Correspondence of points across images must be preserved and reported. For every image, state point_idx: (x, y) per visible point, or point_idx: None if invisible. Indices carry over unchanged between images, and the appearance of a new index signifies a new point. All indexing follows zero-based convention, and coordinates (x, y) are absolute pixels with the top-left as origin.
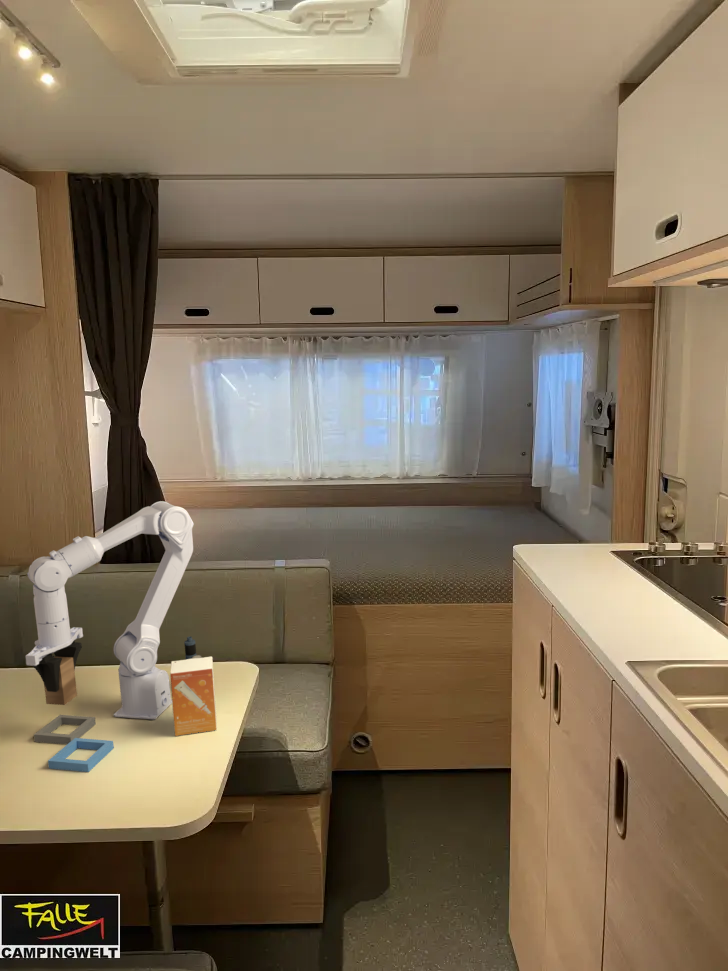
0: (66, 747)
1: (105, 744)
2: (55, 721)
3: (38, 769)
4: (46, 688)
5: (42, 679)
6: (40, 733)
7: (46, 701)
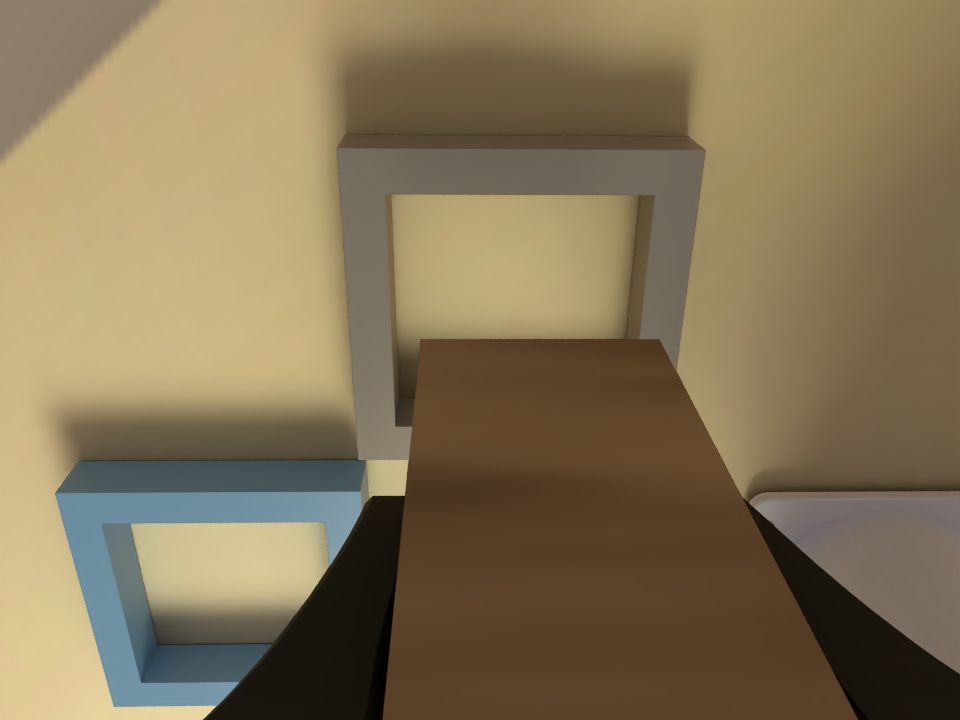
0: (232, 509)
1: None
2: (576, 193)
3: (46, 405)
4: (361, 519)
5: (304, 608)
6: (362, 199)
7: (419, 357)
